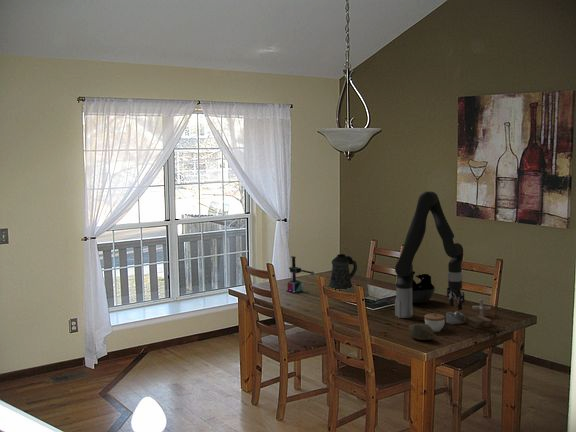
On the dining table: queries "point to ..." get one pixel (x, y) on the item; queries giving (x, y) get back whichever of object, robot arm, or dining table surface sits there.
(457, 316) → the housing
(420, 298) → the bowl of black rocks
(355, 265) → the beer stein
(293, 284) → the magnetic base gauge holder
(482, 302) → the pipe connector
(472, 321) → the stand
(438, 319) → the lidded jar
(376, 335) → the dining table surface
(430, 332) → the stone
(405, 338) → the dining table surface
